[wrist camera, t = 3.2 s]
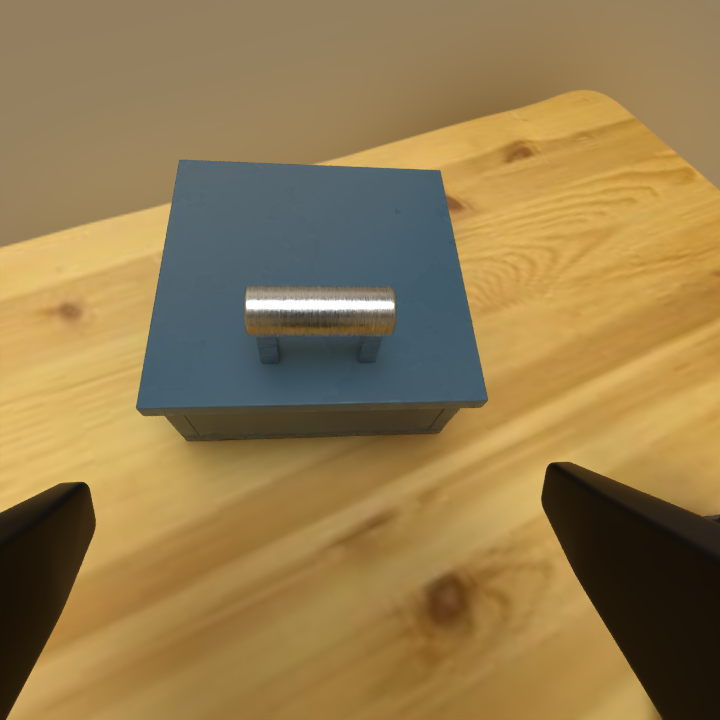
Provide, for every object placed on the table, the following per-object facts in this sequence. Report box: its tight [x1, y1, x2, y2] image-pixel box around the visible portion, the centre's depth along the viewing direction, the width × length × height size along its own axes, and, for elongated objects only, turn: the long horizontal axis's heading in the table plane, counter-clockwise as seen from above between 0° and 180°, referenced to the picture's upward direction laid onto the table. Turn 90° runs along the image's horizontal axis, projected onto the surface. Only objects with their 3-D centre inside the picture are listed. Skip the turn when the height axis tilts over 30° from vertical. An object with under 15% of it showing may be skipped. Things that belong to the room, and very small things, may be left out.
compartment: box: [165, 408, 460, 441], centre depth 22 cm, size 12×13×6 cm
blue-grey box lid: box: [136, 160, 488, 416], centre depth 17 cm, size 12×13×5 cm
